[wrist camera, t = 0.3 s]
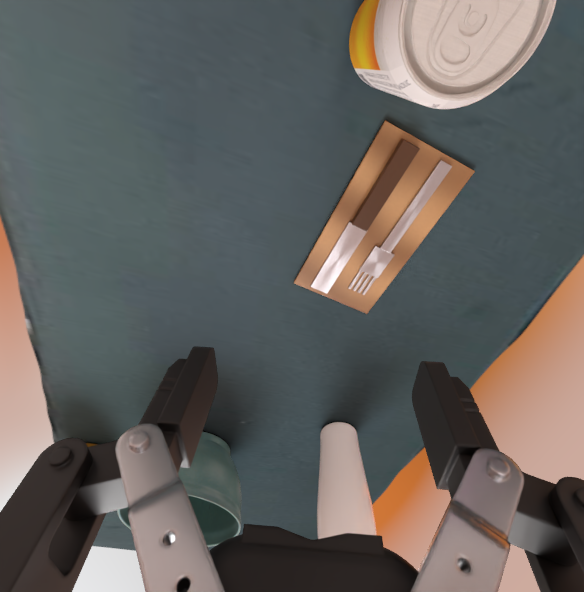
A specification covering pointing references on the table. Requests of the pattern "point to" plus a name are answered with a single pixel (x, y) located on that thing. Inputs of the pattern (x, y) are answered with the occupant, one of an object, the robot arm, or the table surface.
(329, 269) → the knife
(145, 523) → the robot arm
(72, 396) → the table surface
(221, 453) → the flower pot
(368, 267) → the fork
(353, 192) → the cork mat
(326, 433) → the drinking glass
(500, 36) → the beer can
